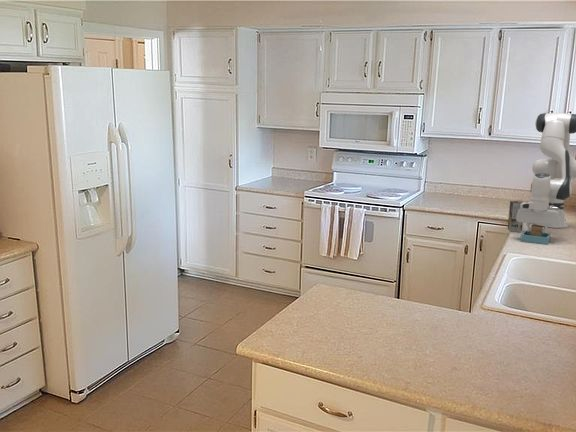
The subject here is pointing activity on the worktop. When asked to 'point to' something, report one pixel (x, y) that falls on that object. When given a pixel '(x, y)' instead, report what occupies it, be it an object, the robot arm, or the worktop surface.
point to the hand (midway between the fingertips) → (536, 232)
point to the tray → (535, 238)
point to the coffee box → (514, 217)
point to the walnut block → (536, 230)
